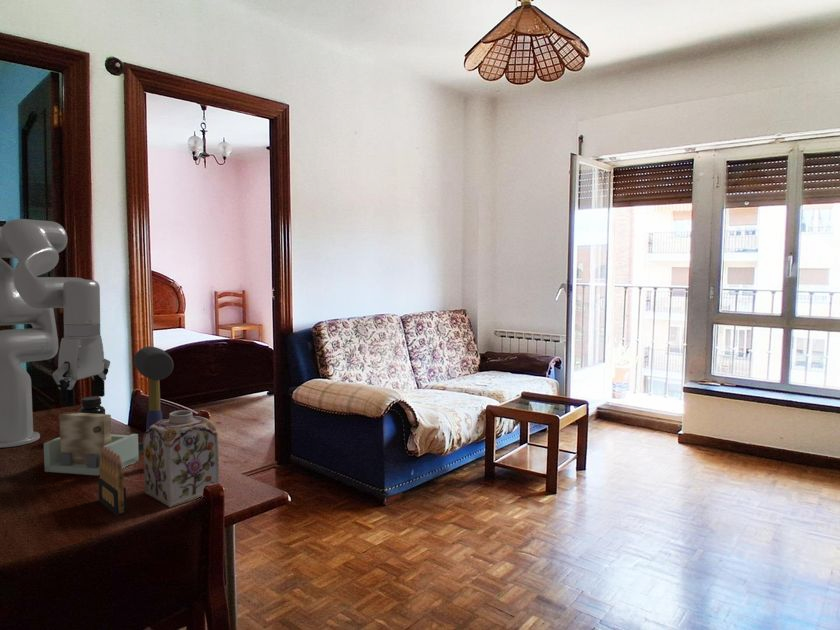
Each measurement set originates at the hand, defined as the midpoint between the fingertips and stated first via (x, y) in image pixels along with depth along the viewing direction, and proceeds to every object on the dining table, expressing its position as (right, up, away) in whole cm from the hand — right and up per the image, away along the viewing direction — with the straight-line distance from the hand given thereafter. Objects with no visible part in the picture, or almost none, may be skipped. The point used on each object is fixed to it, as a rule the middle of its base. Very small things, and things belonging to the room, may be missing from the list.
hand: (83, 400), depth 135 cm
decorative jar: (+29, -19, -13) cm, 37 cm away
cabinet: (+1, -17, +3) cm, 17 cm away
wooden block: (0, -15, +1) cm, 15 cm away
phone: (+2, -16, +14) cm, 22 cm away
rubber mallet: (+17, -17, +2) cm, 24 cm away
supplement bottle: (-12, -15, +25) cm, 31 cm away
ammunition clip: (+18, -19, -20) cm, 33 cm away
